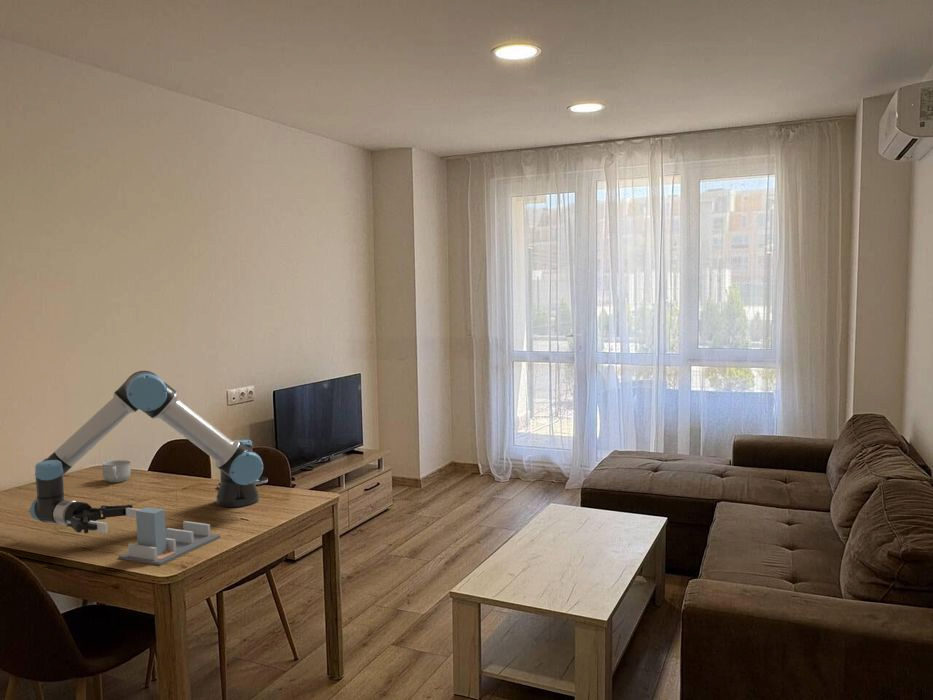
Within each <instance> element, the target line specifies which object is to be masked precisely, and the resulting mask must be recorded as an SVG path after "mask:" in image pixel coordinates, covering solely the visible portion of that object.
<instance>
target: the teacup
mask: <svg viewBox="0 0 933 700" xmlns="http://www.w3.org/2000/svg"><path fill="white" fill-rule="evenodd" d="M101 465H102V477H103V479H104V480H106V481H107V482H109V483H122V482H125V481H127V479H128V478H130V476H131V468H132V467H131V466H132V461H130V460H125V459H123V460H122V459H114V460H108V461H104V462H102V464H101Z"/></svg>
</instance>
